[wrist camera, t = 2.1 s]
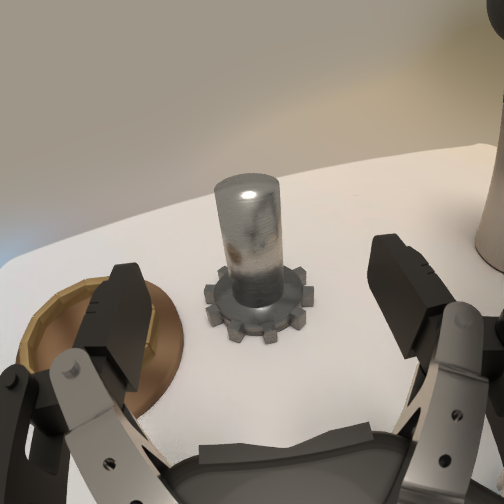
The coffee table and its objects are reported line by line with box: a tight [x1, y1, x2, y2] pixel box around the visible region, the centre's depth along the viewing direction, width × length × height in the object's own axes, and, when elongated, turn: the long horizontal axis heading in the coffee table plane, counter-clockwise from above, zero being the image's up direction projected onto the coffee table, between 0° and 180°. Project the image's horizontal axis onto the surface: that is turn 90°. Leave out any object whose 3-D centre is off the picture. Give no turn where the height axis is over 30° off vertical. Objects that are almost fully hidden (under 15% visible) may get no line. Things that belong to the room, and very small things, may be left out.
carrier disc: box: [16, 276, 183, 419], centre depth 23 cm, size 17×17×3 cm
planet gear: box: [204, 173, 314, 344], centre depth 24 cm, size 9×9×11 cm
